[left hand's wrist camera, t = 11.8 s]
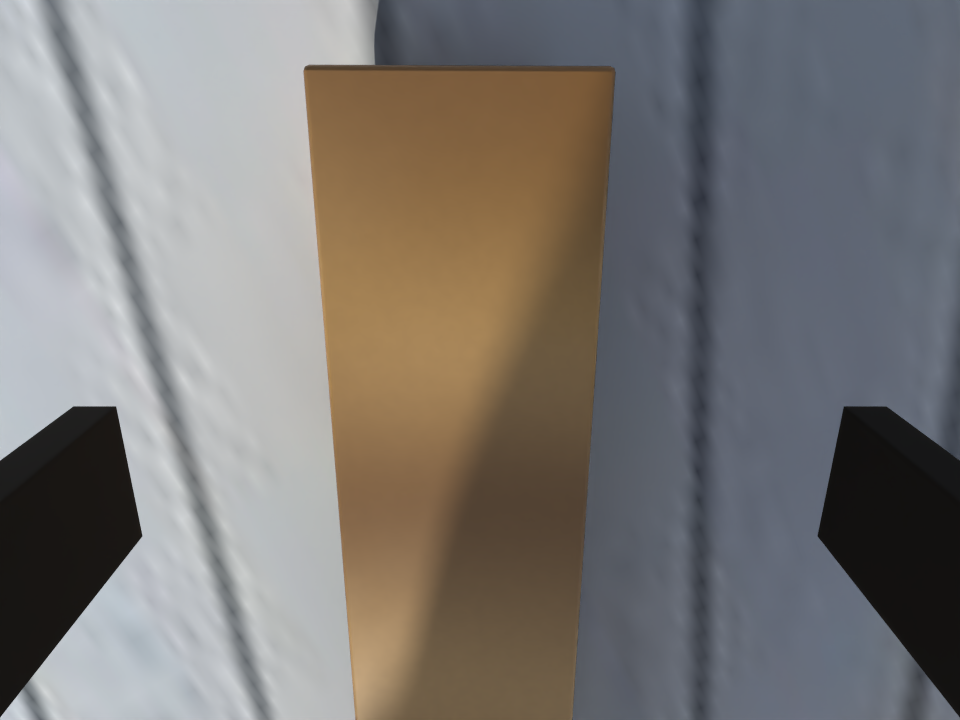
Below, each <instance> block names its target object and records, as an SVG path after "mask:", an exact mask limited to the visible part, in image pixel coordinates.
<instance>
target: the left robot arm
mask: <svg viewBox="0 0 960 720" xmlns="http://www.w3.org/2000/svg"><path fill="white" fill-rule="evenodd" d="M141 537H142V532H141V527H140V522H139V517H138V512H137V507H136V502H135V497H134V492H133V488H132V483H131V478H130V473H129V468H128V463H127V458H126V453H125V448H124V443H123V438H122V433H121V428H120V424H119V419H118V414H117V409H116V407H72V408H71V409H70V410H68V411H67V412H66V413H64V414H63V415H61V416H60V417H59V418H57V419H56V420H55V421H53V422H52V423H51V424H49V425H48V426H47V427H45V428H44V429H42V430H41V431H40V432H38V433H37V434H36V435H34V436H33V437H32V438H30V439H29V440H28V441H26V442H25V443H24V444H22V445H21V446H19V447H18V448H17V449H15V450H14V451H13V452H11V453H10V454H9V455H7V456H6V457H5V458H3V459H2V460H1V461H0V717H1V716H2V714H3V713H4V712H5V710H6V709H7V708H8V707H9V705H10V704H11V703H12V702H13V700H14V699H15V698H16V696H17V695H18V694H19V693H20V691H21V690H22V689H23V688H24V686H25V685H26V684H27V682H28V681H29V680H30V679H31V677H32V676H33V675H34V674H35V672H36V671H37V670H38V668H39V667H40V666H41V665H42V663H43V662H44V661H45V660H46V658H47V657H48V656H49V654H50V653H51V652H52V651H53V649H54V648H55V647H56V646H57V644H58V643H59V642H60V640H61V639H62V638H63V637H64V635H65V634H66V633H67V631H68V630H69V629H70V628H71V626H72V625H73V624H74V623H75V621H76V620H77V619H78V617H79V616H80V615H81V614H82V612H83V611H84V610H85V609H86V607H87V606H88V605H89V603H90V602H91V601H92V600H93V598H94V597H95V596H96V595H97V593H98V592H99V591H100V589H101V588H102V587H103V586H104V584H105V583H106V582H107V581H108V579H109V578H110V577H111V575H112V574H113V573H114V572H115V570H116V569H117V568H118V567H119V565H120V564H121V563H122V561H123V560H124V559H125V558H126V556H127V555H128V554H129V553H130V551H131V550H132V549H133V547H134V546H135V545H136V544H137V542H138V541H139V540H140V539H141ZM818 537H819V539H820V540H821V541H822V542H823V544H824V545H825V546H826V547H827V549H828V550H829V551H830V553H831V554H832V555H833V556H834V558H835V559H836V560H837V561H838V563H839V564H840V565H841V567H842V568H843V569H844V570H845V572H846V573H847V574H848V575H849V577H850V578H851V579H852V581H853V582H854V583H855V584H856V586H857V587H858V588H859V589H860V591H861V592H862V593H863V595H864V596H865V597H866V598H867V600H868V601H869V602H870V603H871V605H872V606H873V607H874V609H875V610H876V611H877V612H878V614H879V615H880V616H881V617H882V619H883V620H884V621H885V623H886V624H887V625H888V626H889V628H890V629H891V630H892V631H893V633H894V634H895V635H896V637H897V638H898V639H899V640H900V642H901V643H902V644H903V646H904V647H905V648H906V649H907V651H908V652H909V653H910V654H911V656H912V657H913V658H914V660H915V661H916V662H917V663H918V665H919V666H920V667H921V668H922V670H923V671H924V672H925V674H926V675H927V676H928V677H929V679H930V680H931V681H932V682H933V684H934V685H935V686H936V688H937V689H938V690H939V691H940V693H941V694H942V695H943V696H944V698H945V699H946V700H947V702H948V703H949V704H950V705H951V707H952V708H953V709H954V710H955V712H956V713H957V714H958V716H959V717H960V461H959V460H958V459H957V458H955V457H954V456H953V455H951V454H950V453H949V452H947V451H946V450H945V449H943V448H942V447H941V446H939V445H938V444H936V443H935V442H934V441H932V440H931V439H930V438H928V437H927V436H926V435H924V434H923V433H922V432H920V431H919V430H918V429H916V428H915V427H913V426H912V425H911V424H909V423H908V422H907V421H905V420H904V419H903V418H901V417H900V416H899V415H897V414H896V413H894V412H893V411H892V410H890V409H889V408H888V407H844V409H843V414H842V419H841V424H840V428H839V433H838V438H837V443H836V448H835V453H834V458H833V463H832V468H831V473H830V478H829V483H828V488H827V492H826V497H825V502H824V507H823V512H822V517H821V522H820V527H819V532H818Z"/></svg>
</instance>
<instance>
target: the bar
mask: <svg viewBox="0 0 960 720" xmlns="http://www.w3.org/2000/svg"><path fill="white" fill-rule="evenodd" d="M304 83H305V96H306V108H307V120H308V133H309V145H310V158H311V170H312V183H313V195H314V208H315V220H316V233H317V245H318V257H319V270H320V282H321V295H322V307H323V320H324V332H325V345H326V357H327V370H328V382H329V394H330V407H331V419H332V432H333V444H334V457H335V469H336V482H337V494H338V507H339V519H340V532H341V544H342V556H343V569H344V581H345V594H346V606H347V619H348V631H349V644H350V656H351V669H352V681H353V693H354V706H355V718H356V720H572V716H573V701H574V686H575V671H576V656H577V641H578V626H579V611H580V596H581V581H582V566H583V551H584V536H585V521H586V506H587V491H588V476H589V461H590V446H591V431H592V416H593V401H594V386H595V371H596V356H597V341H598V326H599V311H600V296H601V281H602V266H603V251H604V236H605V221H606V206H607V191H608V176H609V161H610V146H611V131H612V116H613V101H614V86H615V70H614V68H613V67H611V66H470V65H307V66H305V68H304Z"/></svg>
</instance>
